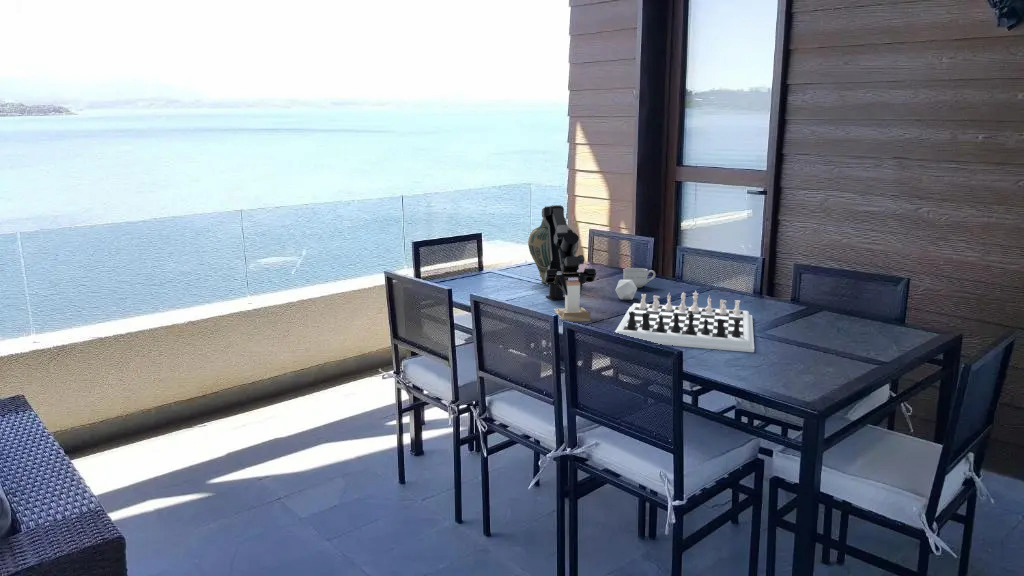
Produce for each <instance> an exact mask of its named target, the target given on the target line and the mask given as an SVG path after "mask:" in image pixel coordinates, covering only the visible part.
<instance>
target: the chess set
mask: <svg viewBox="0 0 1024 576" xmlns="http://www.w3.org/2000/svg"><path fill="white" fill-rule="evenodd" d="M640 295H641V299H640V303H637V302H633V303H632V305H631V306H629V308H628V310H627V311H626V312H625V315H624V316H623V318H622V320H621V321H620V322H619V324H618V326H617V328H616V329H615V331H614V332H616V333H619V334H623V335H627V336H630V337H634V338H639V339H643V340H647V341H651V342H654V343H658V344H657V345H660V344H662V346H672V345H673V346H674V347H683V348H684V347H686V348H697V349H707V350H709V349H710V350H721V351H733V352H735V351H736V352H745V353H747V352H748V353H754V352H755V342H754V341H755V339H754V326H753V325H754V324H753V323H754V321H753V314H750V311H748V310H741V309H740V303H741V300H738V299H737V300H736V299H735V300H734V309H727V305H726V303H727V300H725V299H720V300H719V308H713V307H712V302H711V301H712V298H711V297H710V296H711V295H708V298H707V306H706V307H699V306H698V298H699V296H698V295H699V292H698V293H697V290H694V292H692V295H693V296H692V298H693V303H692V305H691V306H687V305H686V302H685V301H686V298H687V297H686V293H685V292H684V291H683V292H682V293H681V295H680V298H681V299H680V300H681V301H680V305H673V304H672V301H671V300H672V299H671V298H672V296H671V294H670V293H668V294H667V298H666V300H667V303H666V304H665V305H664V304H660V301H659V299H660V298H661V297H660V295H653V296H652V297H653V298H652V299H653V302H652V304H651V303H650V304H649V303H647V301H646V299H647V294H646V293H644V294H643V293H641V294H640ZM673 346H672V347H673Z"/></svg>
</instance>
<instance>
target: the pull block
mask: <svg viewBox="0 0 1024 576" xmlns="http://www.w3.org/2000/svg"><path fill="white" fill-rule="evenodd" d="M565 284H566V288H567V293H568V294H567V296H566V295H565V294H564V297H565V299H564V309H565V310H566V311H567V312H579V310H580V308H581V307H580V302H581V301H580V300H581V294H580V282H579V281H578V279H577V280H573V279H572V280H569V279H568V280H566V283H565Z"/></svg>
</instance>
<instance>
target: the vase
mask: <svg viewBox="0 0 1024 576" xmlns="http://www.w3.org/2000/svg"><path fill="white" fill-rule="evenodd" d="M564 218H565V221H566V225H567V227H569V226H568V224H567V219H566V217H564ZM570 229H571V230H572V232H574V233H576V232H575V230H574V229H572V228H570ZM527 242H528V243H527V245H528V249H529V253H530V256H531V257H532V259H533V261H534V263H535V265H536V268H537V270H538V272H539V277H540V279H541V282H542V283H545V273H546V270H547V269H548V266H549V264H550V262H551V256H550V244H549V232H548V227H547V226H546V225H545V223H544V219H543V218H542V219H541V223H540V225H539V226H538V227H535V228H534V229H532V230H531V232H530V234H529V236H528V241H527ZM578 249H579V242H578V243H577V247H576V250H575V251H574V255H575V256H576V255H577V252H578ZM545 284H546V283H545Z"/></svg>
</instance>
